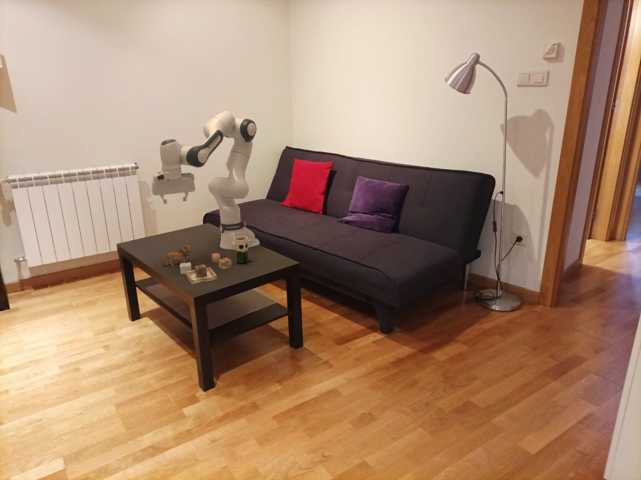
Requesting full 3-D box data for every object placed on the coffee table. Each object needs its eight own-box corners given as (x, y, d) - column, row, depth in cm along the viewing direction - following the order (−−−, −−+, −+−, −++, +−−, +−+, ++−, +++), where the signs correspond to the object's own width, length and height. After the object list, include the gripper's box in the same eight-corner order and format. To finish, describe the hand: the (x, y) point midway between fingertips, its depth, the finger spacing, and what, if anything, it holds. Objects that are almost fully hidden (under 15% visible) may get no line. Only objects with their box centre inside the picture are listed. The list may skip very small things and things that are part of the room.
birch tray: (210, 271, 239) (210, 267, 239) (217, 279, 229) (216, 275, 229) (186, 275, 234) (185, 271, 234) (191, 284, 224) (191, 280, 224)
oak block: (226, 265, 248) (226, 257, 246) (231, 267, 244) (231, 260, 243) (219, 267, 245) (218, 259, 244) (223, 269, 242) (223, 262, 240)
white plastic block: (191, 269, 242) (190, 262, 241) (191, 273, 237) (190, 265, 236) (181, 270, 241) (180, 263, 240) (180, 274, 236) (179, 266, 235)
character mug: (236, 266, 246) (234, 241, 241) (230, 262, 251) (228, 238, 247) (255, 261, 251) (253, 237, 247) (248, 257, 257) (247, 234, 253)
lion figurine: (190, 259, 255) (188, 243, 253) (193, 262, 251) (191, 246, 248) (162, 265, 248) (160, 248, 246) (164, 268, 244) (162, 251, 241)
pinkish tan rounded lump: (219, 259, 255) (218, 252, 253) (221, 262, 251) (220, 254, 250) (211, 261, 253) (210, 253, 252) (213, 263, 250) (212, 256, 248)
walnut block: (205, 273, 235) (204, 264, 233) (207, 277, 231) (206, 267, 229) (195, 275, 233) (194, 265, 231) (197, 278, 229) (196, 268, 227)
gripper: (192, 171, 240) (195, 198, 244) (149, 175, 231) (152, 203, 236) (195, 173, 235) (197, 201, 239) (151, 177, 226) (154, 206, 230)
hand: (175, 202), depth 237 cm, fingers open, 8 cm apart
